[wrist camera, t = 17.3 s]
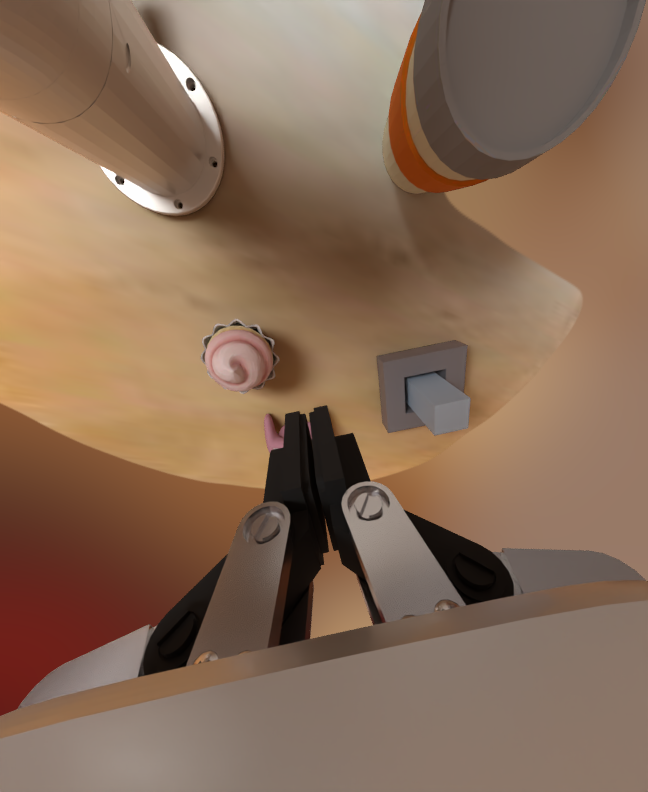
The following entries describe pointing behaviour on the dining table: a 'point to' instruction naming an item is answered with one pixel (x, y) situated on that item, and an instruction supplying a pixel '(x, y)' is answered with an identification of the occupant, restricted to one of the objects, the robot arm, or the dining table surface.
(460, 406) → the plug
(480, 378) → the dining table surface
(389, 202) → the dining table surface
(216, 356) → the cupcake
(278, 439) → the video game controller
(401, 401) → the socket
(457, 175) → the reusable coffee cup
